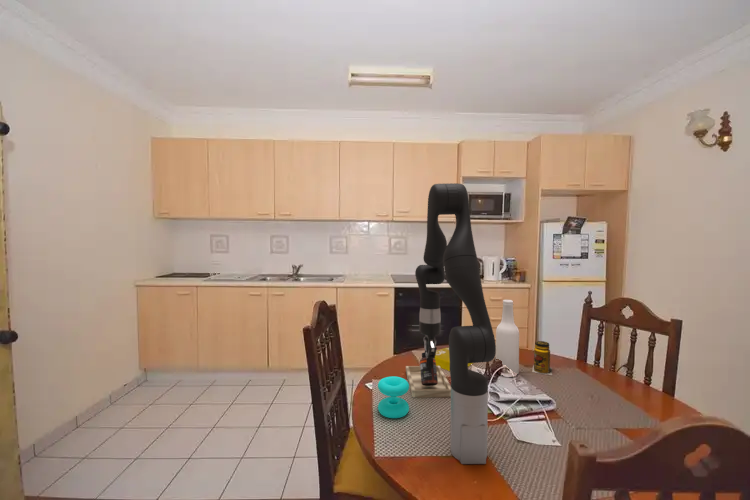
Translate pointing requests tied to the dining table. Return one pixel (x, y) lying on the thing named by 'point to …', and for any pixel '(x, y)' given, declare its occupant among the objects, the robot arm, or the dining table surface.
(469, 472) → the dining table surface
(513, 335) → the alcohol
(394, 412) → the donuts
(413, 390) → the tray
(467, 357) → the robot arm
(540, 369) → the condiment
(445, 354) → the element tile
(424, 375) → the supplement bottle
